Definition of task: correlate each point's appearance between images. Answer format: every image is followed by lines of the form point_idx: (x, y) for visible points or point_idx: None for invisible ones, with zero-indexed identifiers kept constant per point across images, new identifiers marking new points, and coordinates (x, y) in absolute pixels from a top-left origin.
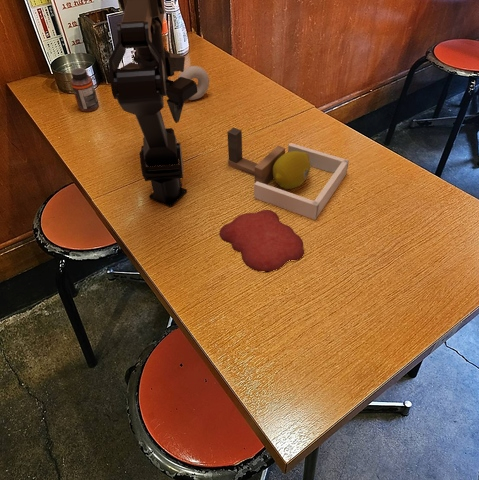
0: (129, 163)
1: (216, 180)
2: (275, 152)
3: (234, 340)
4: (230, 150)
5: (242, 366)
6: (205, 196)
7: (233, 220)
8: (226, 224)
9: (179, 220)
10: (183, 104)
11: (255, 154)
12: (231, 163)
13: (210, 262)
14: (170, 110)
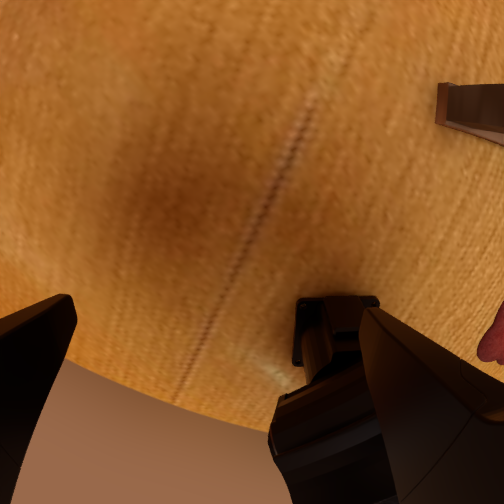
0: (123, 271)
1: (433, 211)
2: None
3: None
4: (480, 125)
5: None
6: (428, 285)
7: (500, 322)
8: (490, 339)
9: None
10: (492, 379)
11: (471, 40)
12: (454, 127)
13: None
14: (395, 465)
